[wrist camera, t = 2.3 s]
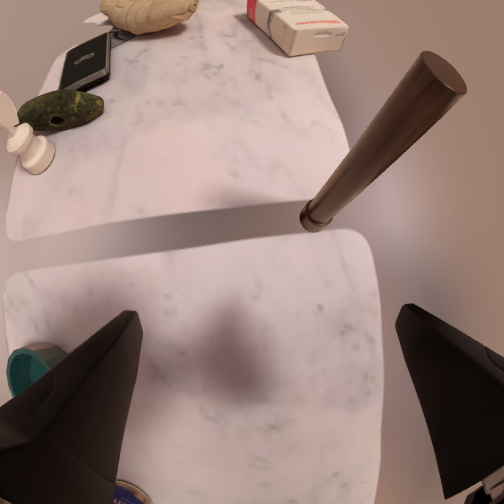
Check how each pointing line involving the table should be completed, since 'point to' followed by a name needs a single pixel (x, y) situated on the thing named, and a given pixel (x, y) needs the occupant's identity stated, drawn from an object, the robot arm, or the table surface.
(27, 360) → the bowl
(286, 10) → the ink box
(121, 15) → the model
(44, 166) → the decorative finial
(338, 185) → the stick
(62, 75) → the external hard drive
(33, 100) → the decorative stone
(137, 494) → the pill bottle
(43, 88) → the table surface
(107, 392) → the robot arm
